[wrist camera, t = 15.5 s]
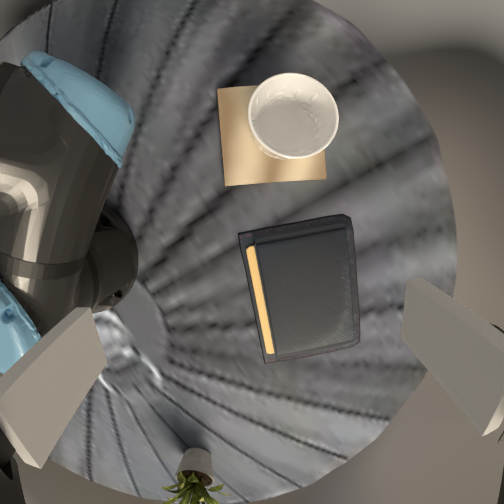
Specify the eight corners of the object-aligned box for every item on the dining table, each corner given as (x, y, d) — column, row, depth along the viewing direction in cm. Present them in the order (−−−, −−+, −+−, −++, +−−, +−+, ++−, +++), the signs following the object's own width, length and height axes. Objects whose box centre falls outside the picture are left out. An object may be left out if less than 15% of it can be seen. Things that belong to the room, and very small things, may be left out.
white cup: (237, 112, 33) (234, 88, 23) (299, 92, 32) (318, 63, 22) (261, 173, 34) (267, 171, 25) (323, 152, 34) (351, 143, 24)
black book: (362, 349, 41) (260, 369, 41) (358, 343, 43) (260, 362, 43) (358, 213, 36) (236, 231, 36) (352, 211, 38) (237, 228, 38)
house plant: (256, 456, 48) (260, 525, 32) (213, 481, 50) (209, 541, 34) (194, 424, 45) (181, 499, 29) (156, 453, 47) (139, 517, 31)
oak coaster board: (226, 185, 36) (225, 186, 35) (218, 92, 33) (217, 88, 32) (323, 178, 36) (326, 178, 35) (314, 87, 33) (316, 83, 32)
